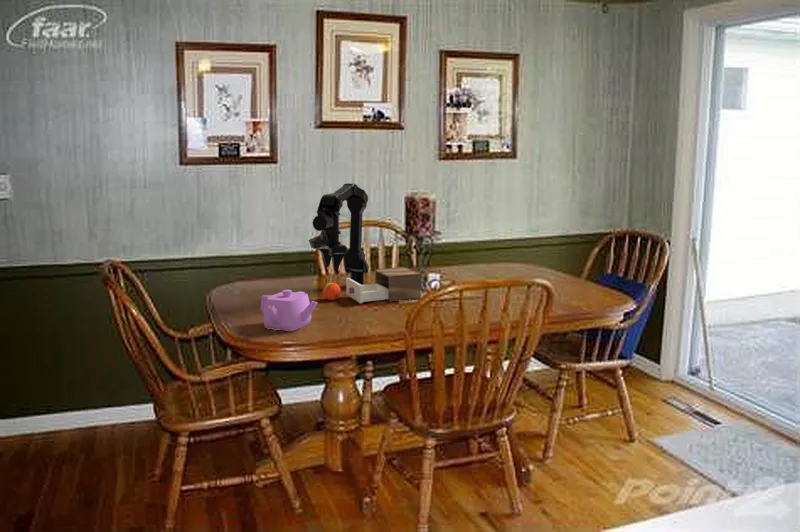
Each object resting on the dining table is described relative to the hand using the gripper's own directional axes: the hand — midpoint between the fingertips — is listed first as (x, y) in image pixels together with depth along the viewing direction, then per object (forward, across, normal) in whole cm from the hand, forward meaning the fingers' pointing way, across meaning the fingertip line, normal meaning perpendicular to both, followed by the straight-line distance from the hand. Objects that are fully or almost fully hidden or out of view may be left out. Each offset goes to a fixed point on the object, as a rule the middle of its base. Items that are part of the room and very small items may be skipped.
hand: (331, 268), depth 275 cm
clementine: (+13, -1, 0) cm, 13 cm away
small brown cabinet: (+12, +4, +26) cm, 29 cm away
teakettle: (+14, +27, -25) cm, 39 cm away
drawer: (+11, +4, +13) cm, 18 cm away
